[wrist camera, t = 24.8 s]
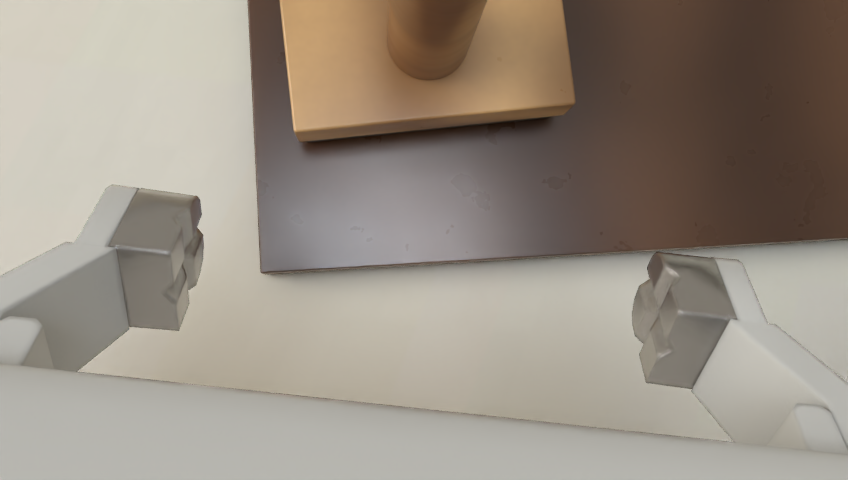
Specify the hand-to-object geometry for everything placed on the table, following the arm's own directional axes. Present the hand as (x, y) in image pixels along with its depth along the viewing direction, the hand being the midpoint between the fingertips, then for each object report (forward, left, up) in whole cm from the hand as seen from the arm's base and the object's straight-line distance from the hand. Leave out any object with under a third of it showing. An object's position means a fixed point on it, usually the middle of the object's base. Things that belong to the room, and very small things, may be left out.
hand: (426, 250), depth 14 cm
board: (-6, -7, -14) cm, 17 cm away
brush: (-1, -7, -13) cm, 15 cm away
